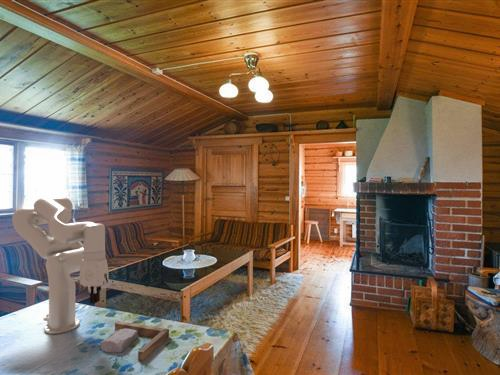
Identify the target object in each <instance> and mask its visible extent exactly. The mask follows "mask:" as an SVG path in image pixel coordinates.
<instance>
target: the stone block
mask: <svg viewBox="0 0 500 375" xmlns="http://www.w3.org/2000/svg"><path fill="white" fill-rule="evenodd" d="M138 336H139V334H138V332H137V330H132V329H126V328H125V329H120V330H117V331H116V330H114V331H113V332H112V333H110V334H109V335H108V336H107V337H106V338H105V339H104V340H102V341H101V342H100V349H101V351H103V352H105V353H107V352H109V353H122V352H124V351H125V350H126V349H127V348H128V347H129V346H130V345H131V344H133V343H134V342H135V341H136V339H137V338H138Z"/></svg>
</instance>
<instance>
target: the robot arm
mask: <svg viewBox="0 0 500 375" xmlns="http://www.w3.org/2000/svg"><path fill="white" fill-rule="evenodd" d="M72 211H73V202H72V201H71V199H69V198H68V197H66V196H54V197H53V196H50V197H49V196H46V197H41V198H39V199H37V200H36V201H35V202H34V204H33V206H26V207H22V208H19V209H17V210H15V211H14V212H13V214H12V217H11V221H12V226H13V227H14V230H15V232H16V233H17V234H18V235H19V236H20V237H22V238H23V239H24V240H25V241H27V242H28V243H29V244H30V246H31V247H32V248H33V249H34V251H36V253H37V255H39V256H40V258H42V259H44V260H46V261H45V268H46V273H47V279H48V313H47V314H46V317H43V321H45V322H47V324H46V325H45V326H44V332H45V333H46V334H50V335H57V334H63V333H68V332H70V331H72V330H75V329H76V328H78V327H79V325H80V322H81V321H80V319H79V318H77V317H76V282H75V280H74V279H73V278H72V277H71V274H73V273H76V272H79V284H80V286H81V285H82V287H84V288H86V289H87V292H88V293H89V304H93V305H95V304H97V303H98V302H100V298H101V297H100V296H101V295H100V294H101V293H100V292H102V290H104V289H106V288H108V282H109V265H108V261H107V258H106V227H105V225H104V224H103V223H101V222H100V223H95V222H93V221H82V222H81V221H80V222H73V223H72V222H71V223H69V222H70V221H71V219H72ZM47 224H48V229H47V228H46V227H43V226H40V225H47Z"/></svg>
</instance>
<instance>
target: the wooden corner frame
mask: <svg viewBox="0 0 500 375" xmlns="http://www.w3.org/2000/svg"><path fill="white" fill-rule="evenodd" d="M125 328H126V329H132V330H137V332H138V336H139V335H140V336H145V337H152V339H150V340H149V341H148V342H147V343H146V344H145V345H144V346H143V347H141V348H140V349H139V350H137V360H138V361H141V362H144V361H145V360H146V359H147V358H148V357H149V356H150V355H151V354H152V353H154V351H155V350H156V349H157V348H158V347H160V346H161V345H162V344H163V343H164V342H165V341H166V340H167V339H168V338H169V337H170V329H168V328H164V327H158V326H151V325H144V324H141V323H140V324H139V323H132V322H128V321H127V322H126V321H119V320H118V321H116V322H115V323H114V331H117V330H120V329H125Z"/></svg>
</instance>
